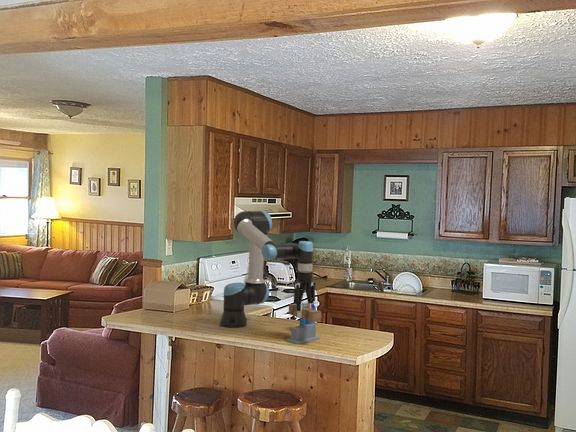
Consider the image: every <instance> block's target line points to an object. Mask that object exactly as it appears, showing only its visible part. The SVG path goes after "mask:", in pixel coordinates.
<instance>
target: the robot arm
mask: <svg viewBox="0 0 576 432" xmlns="http://www.w3.org/2000/svg"><path fill="white" fill-rule="evenodd" d="M232 222H233V224H232V225H233V228H234V231H236V232H237V233H238V234H239V235H242V236H244V237H246V239H248V240H249V248H248V249H249V250H248V272H247V273H248V275H247V278H246V280H244V281H245V282H232V283H227V284H226V285H224V289H223V310H222V311H223V312H222V315H221V318H220V319H219V321H220V322H219V324H220V326H221V327H224V328H242V327H244V328H245V327H246V326H247V325H248V320H247V317H246V313H245V306H252V305H260V304H264V303H266V302H267V300H268V299H269V297H270V296H269V295H270V289H269V286H268V284H266V281H265V279H264V263H265V262H264V259H265V260H279V259H280V260H282V259H285V260H286V259H297V271H298V272H297V279H298V281H297V283H294V284H293V287H294V290H293V291H294V293H293V304H297V317H296V318H299V317H300V318H302V305H301V304H302V302H303V297H304V293H305V294H306V299H307V301H306V302H308V303H307V305H306V307H308V308H312V303H314V302H315V301H316V284H317V283H316V282H314V281H312V280H313V265H314V264H313V262H314V259H313V258H314V243H313V241H309V240H308V241H307V240H306V241H305V240H300V241H298V243H294V242H292V243H291V242H289V243H283V244H282V243H275V242H274V241H273V240H272V239H270V237H268V234H269V233H268V232H271V230H272V229H273V219H272V217H271V215H270V214H269V212H268V211H265V210H264V211H263V210H253V211H252V210H249V211H247V210H244V211H240V212H239V213H236V215H235V216H234V219H233V221H232ZM314 304H315V303H314ZM300 318H299V319H300Z"/></svg>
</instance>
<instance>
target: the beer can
mask: <svg viewBox="0 0 576 432" xmlns="http://www.w3.org/2000/svg"><path fill="white" fill-rule="evenodd" d="M307 303H308V301H302V302H301V305H302V306H305V307H306V305H307ZM312 309H315V310H316V305H315V303H312ZM307 324H313V325H316V322H310V321H307V320H304V319H302V318H299V326H302V325H307Z"/></svg>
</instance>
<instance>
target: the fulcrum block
mask: <svg viewBox="0 0 576 432" xmlns="http://www.w3.org/2000/svg"><path fill="white" fill-rule="evenodd" d="M316 333H317V325H316V324H315V325H313V324H307V325H302V326H300V325H298V326H292V327H291V328H290V338H286V341H287V342H288V343H291V344H296V345H301V344H305V343H310V342H314V341H320V340H321V337H320V336H317V334H316Z"/></svg>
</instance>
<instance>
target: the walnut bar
mask: <svg viewBox="0 0 576 432" xmlns="http://www.w3.org/2000/svg"><path fill="white" fill-rule="evenodd" d="M288 315H290V316H294V317H296V318H298V319H300V317H297V304H295V303H289V304H288ZM302 319H304V320H307V321H310V322H315V323H319V322H322V310H321V311H320V310H317V309H316V308H315V309H312V308H308V307H305V306H302Z"/></svg>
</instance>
